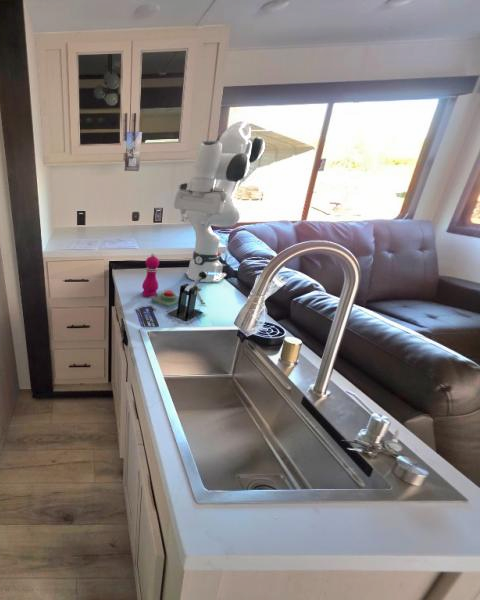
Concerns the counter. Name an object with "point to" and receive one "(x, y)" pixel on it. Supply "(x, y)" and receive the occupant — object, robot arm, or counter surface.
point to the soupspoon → (199, 294)
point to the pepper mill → (151, 277)
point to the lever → (201, 276)
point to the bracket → (189, 310)
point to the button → (168, 293)
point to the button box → (166, 300)
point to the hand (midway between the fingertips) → (193, 223)
